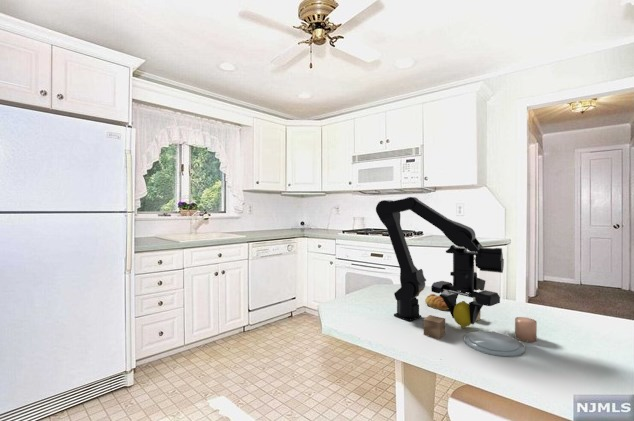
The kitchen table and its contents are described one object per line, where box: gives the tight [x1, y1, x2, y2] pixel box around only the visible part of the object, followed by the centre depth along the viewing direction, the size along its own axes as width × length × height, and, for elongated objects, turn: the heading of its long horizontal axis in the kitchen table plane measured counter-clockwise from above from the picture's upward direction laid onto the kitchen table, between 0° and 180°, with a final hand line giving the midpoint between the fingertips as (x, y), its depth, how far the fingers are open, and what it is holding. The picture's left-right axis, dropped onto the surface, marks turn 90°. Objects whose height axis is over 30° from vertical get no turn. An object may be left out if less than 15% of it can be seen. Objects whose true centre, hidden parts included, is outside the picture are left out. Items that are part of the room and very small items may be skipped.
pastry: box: [424, 293, 449, 311], centre depth 117 cm, size 9×7×4 cm
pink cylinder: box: [514, 316, 538, 343], centre depth 90 cm, size 5×5×5 cm
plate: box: [463, 330, 526, 358], centre depth 86 cm, size 14×14×1 cm
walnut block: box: [423, 314, 446, 340], centre depth 93 cm, size 4×4×4 cm
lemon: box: [453, 300, 472, 329], centre depth 97 cm, size 6×6×8 cm
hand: (463, 321), depth 97 cm, fingers closed on lemon, 5 cm apart
